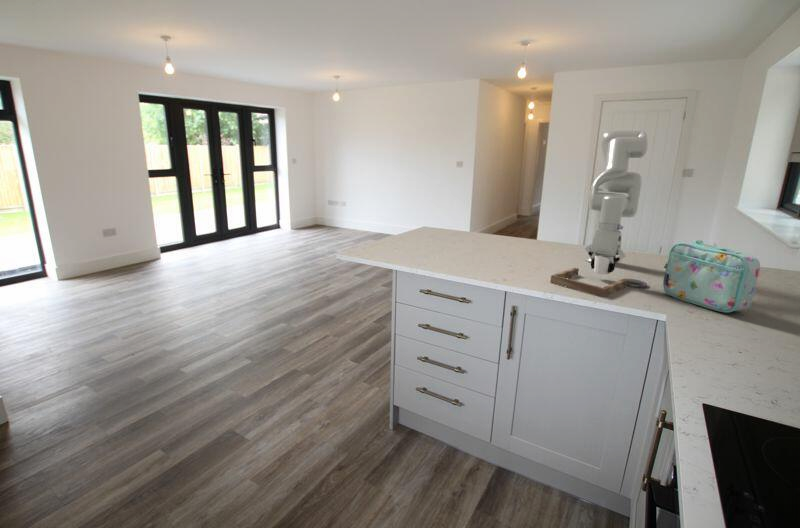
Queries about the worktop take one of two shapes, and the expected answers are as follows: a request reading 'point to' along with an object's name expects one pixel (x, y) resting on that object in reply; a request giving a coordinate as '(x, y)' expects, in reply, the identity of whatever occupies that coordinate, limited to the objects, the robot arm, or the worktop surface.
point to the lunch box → (711, 276)
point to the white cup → (601, 264)
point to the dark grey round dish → (636, 283)
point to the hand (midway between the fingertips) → (601, 269)
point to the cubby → (599, 291)
